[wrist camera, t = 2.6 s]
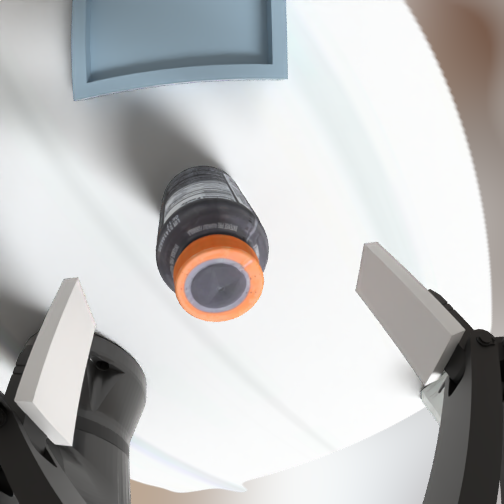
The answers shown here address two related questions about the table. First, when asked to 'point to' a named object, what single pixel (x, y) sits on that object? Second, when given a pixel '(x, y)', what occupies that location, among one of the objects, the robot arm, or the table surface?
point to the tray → (174, 43)
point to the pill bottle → (210, 245)
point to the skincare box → (434, 397)
